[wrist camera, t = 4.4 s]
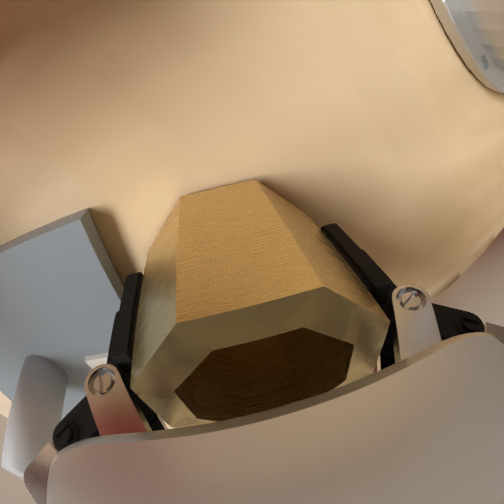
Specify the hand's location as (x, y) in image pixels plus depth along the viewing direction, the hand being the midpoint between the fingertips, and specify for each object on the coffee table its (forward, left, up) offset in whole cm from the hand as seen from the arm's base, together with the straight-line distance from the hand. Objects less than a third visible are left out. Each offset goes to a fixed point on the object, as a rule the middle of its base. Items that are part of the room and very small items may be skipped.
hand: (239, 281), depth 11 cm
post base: (+12, +3, -1) cm, 13 cm away
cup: (0, +1, -1) cm, 1 cm away
